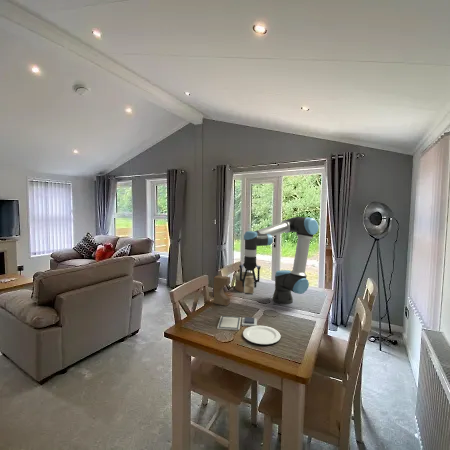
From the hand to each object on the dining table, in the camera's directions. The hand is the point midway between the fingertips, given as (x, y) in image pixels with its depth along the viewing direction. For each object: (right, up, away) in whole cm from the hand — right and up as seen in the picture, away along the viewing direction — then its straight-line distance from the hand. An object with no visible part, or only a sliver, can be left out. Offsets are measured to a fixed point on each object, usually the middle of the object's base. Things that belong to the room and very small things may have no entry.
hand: (249, 292), depth 167 cm
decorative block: (-18, -15, +26) cm, 35 cm away
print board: (-12, -18, -6) cm, 22 cm away
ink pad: (0, -18, -5) cm, 18 cm away
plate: (+5, -20, -21) cm, 29 cm away
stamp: (0, -1, 0) cm, 1 cm away
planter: (+1, -13, +58) cm, 59 cm away
